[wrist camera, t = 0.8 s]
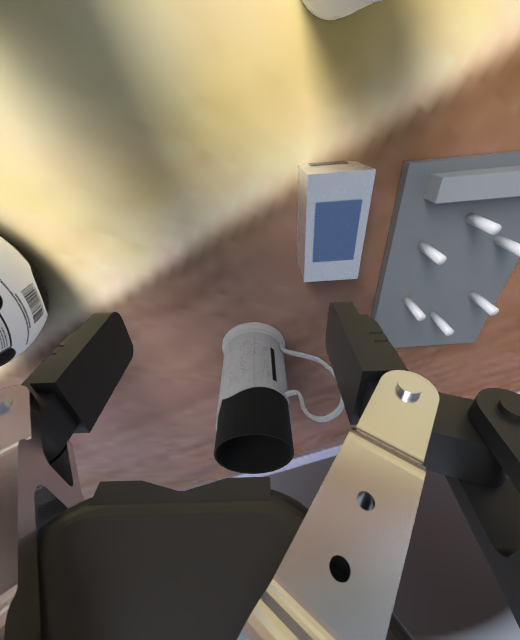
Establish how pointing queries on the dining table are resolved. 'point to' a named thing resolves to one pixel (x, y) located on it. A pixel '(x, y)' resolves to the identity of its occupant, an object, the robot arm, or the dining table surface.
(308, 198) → the block
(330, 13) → the dixie cup
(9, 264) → the milk container
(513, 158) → the grey tapered peg board
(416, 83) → the dining table surface
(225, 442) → the white and black mug
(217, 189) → the dining table surface
